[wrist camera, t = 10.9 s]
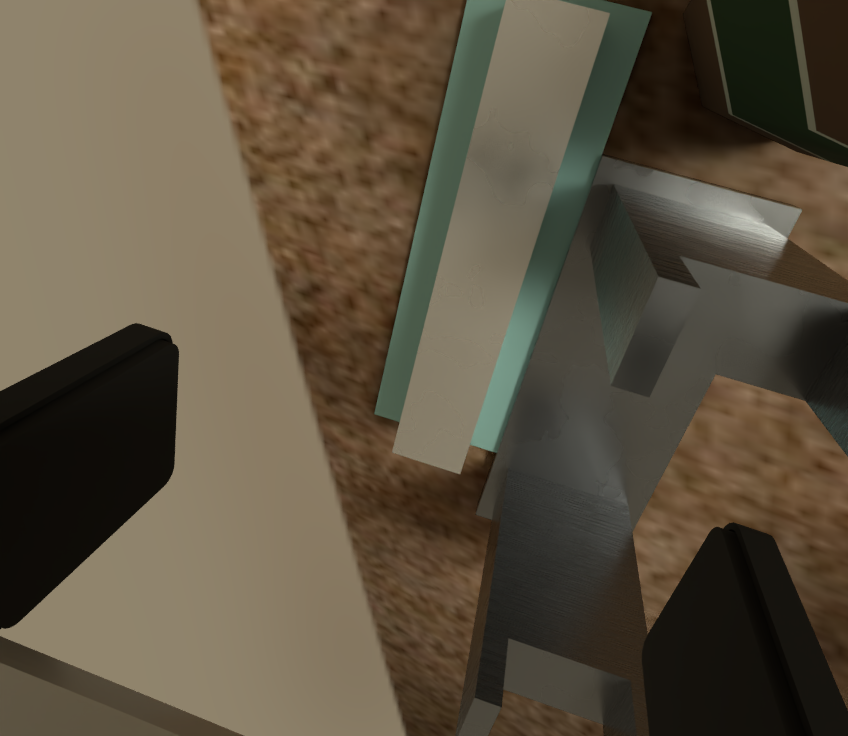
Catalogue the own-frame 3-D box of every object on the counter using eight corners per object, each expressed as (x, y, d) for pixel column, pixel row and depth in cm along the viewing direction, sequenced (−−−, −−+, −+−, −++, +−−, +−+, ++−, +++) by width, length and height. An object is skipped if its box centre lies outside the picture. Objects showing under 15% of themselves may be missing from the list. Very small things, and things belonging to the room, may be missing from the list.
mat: (650, 13, 20) (651, 12, 19) (497, 448, 28) (496, 452, 28) (475, -30, 20) (474, -32, 20) (376, 410, 28) (374, 414, 28)
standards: (794, 205, 21) (1042, 336, 10) (615, 549, 29) (646, 832, 18) (601, 153, 22) (638, 224, 11) (477, 504, 30) (426, 751, 19)
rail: (604, 22, 20) (610, 13, 17) (470, 437, 27) (459, 474, 25) (516, 0, 20) (508, -13, 17) (408, 417, 28) (392, 452, 25)
